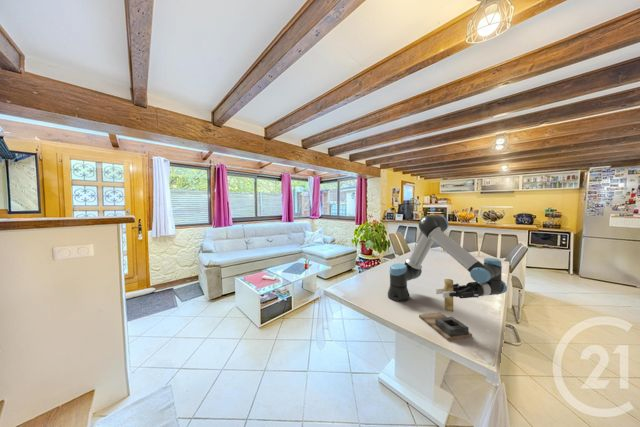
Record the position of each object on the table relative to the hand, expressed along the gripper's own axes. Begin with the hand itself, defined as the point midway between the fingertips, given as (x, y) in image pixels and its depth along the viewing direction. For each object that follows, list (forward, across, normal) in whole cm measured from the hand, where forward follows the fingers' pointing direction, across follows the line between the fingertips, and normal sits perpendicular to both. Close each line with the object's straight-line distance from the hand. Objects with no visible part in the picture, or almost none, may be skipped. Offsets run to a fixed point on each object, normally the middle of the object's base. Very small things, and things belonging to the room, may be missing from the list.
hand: (439, 293), depth 109 cm
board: (-5, +4, -20) cm, 21 cm away
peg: (-5, 0, -10) cm, 11 cm away
